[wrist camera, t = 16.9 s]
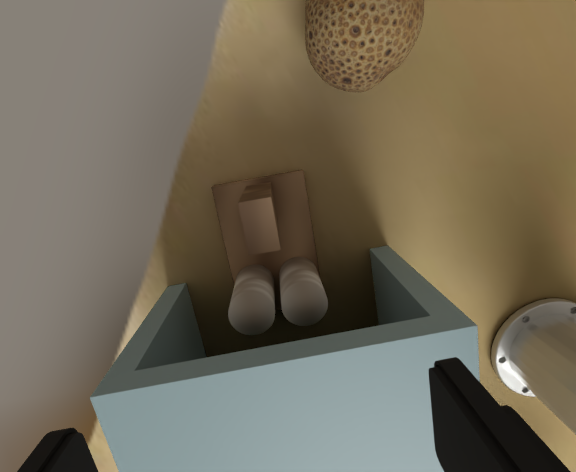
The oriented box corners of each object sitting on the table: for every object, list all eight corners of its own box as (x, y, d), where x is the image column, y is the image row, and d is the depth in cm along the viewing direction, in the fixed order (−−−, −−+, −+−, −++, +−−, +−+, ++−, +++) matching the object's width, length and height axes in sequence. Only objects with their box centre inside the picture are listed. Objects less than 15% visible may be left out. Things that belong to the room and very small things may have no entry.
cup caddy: (301, 169, 36) (315, 181, 25) (321, 295, 39) (341, 352, 29) (214, 185, 36) (190, 204, 25) (242, 309, 39) (231, 372, 29)
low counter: (387, 245, 38) (477, 325, 22) (398, 342, 41) (483, 476, 25) (167, 286, 38) (89, 397, 22) (195, 380, 41) (145, 539, 25)
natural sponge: (381, 104, 34) (425, 90, 25) (290, 89, 33) (299, 68, 24) (403, -1, 32) (461, -63, 22) (306, -20, 31) (322, -92, 21)
